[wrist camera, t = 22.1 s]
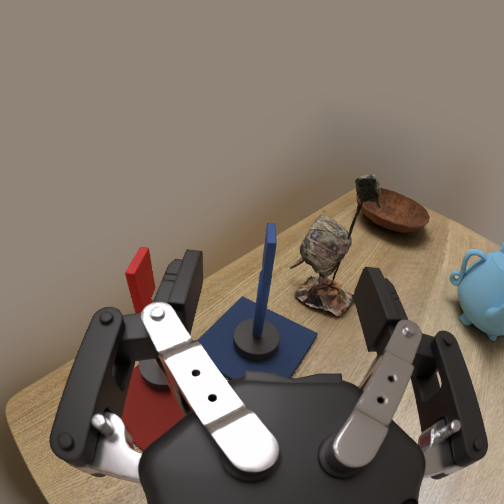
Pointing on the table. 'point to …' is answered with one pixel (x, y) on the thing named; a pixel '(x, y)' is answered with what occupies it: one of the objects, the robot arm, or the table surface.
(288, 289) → the table surface
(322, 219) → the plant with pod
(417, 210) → the bowl
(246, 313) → the blue mat
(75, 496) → the table surface
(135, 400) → the red mat
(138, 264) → the red paddle on stand
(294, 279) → the table surface
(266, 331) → the blue signpost
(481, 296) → the teapot
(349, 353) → the table surface
